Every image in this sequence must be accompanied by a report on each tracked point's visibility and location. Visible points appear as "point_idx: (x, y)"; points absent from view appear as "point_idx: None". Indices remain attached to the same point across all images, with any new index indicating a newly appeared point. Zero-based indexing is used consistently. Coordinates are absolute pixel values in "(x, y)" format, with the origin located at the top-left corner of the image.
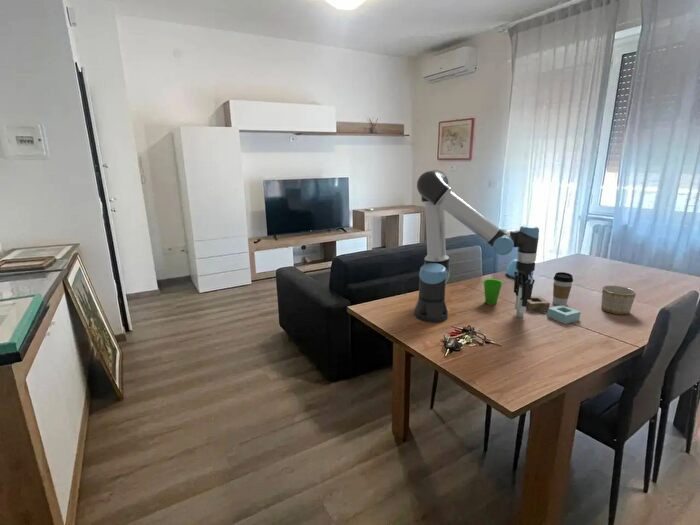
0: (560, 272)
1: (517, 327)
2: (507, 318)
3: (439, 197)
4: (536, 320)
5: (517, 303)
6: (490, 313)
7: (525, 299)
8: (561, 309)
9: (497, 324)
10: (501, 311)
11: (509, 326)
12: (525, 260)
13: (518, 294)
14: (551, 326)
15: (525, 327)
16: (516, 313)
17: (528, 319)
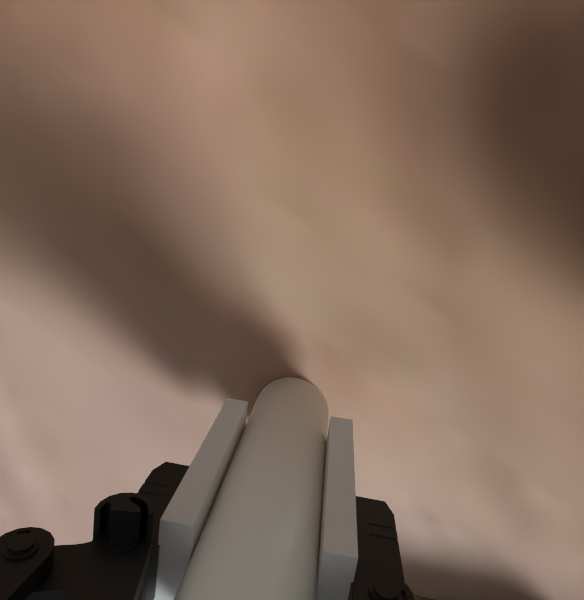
0: None
1: (26, 204)
2: (261, 242)
3: None
4: None
5: (285, 462)
6: (454, 120)
7: (3, 538)
8: None
9: (126, 15)
10: (468, 299)
11: (59, 130)
12: None
13: (261, 586)
14: (16, 527)
15: (18, 286)
16: (295, 390)
17: (192, 441)
